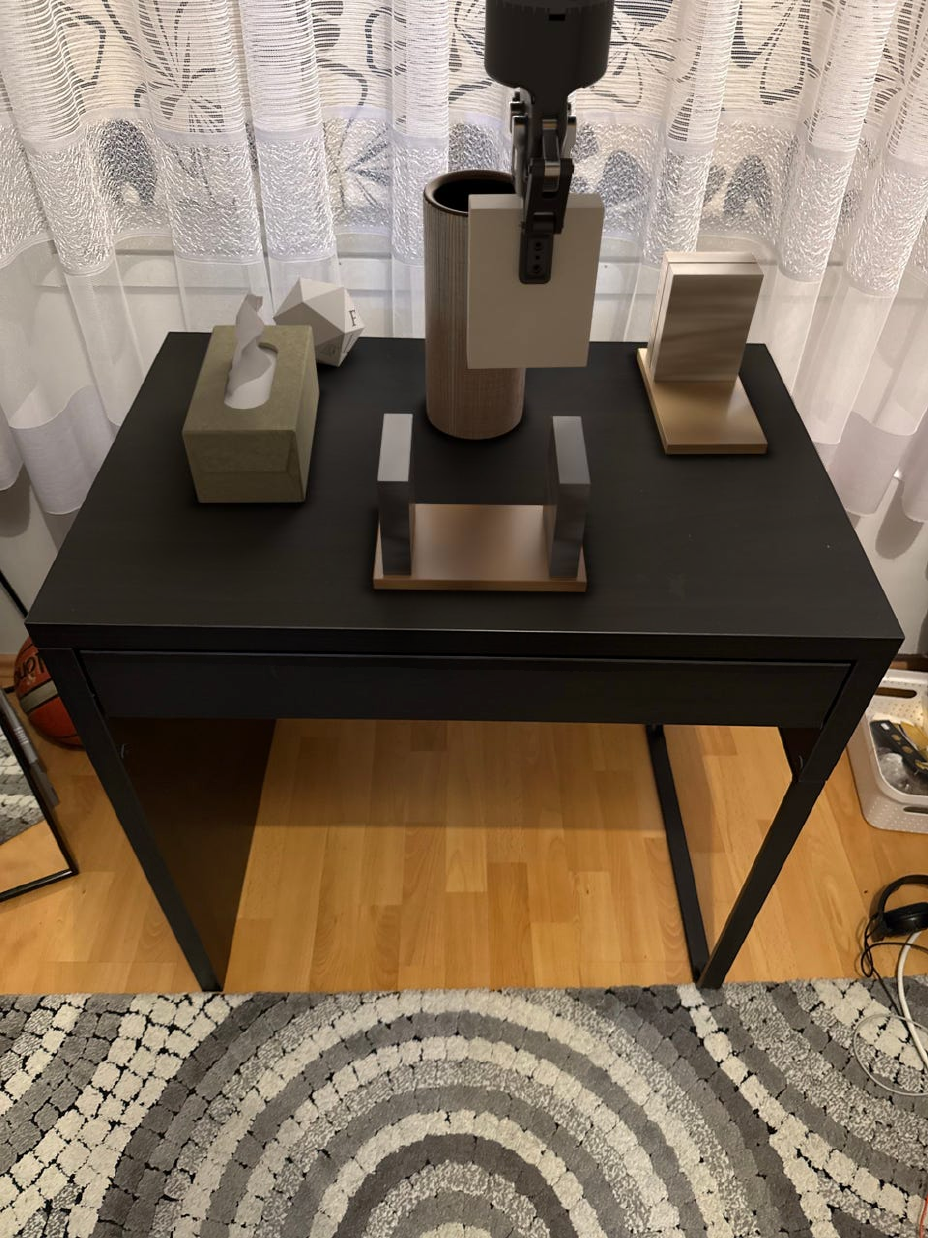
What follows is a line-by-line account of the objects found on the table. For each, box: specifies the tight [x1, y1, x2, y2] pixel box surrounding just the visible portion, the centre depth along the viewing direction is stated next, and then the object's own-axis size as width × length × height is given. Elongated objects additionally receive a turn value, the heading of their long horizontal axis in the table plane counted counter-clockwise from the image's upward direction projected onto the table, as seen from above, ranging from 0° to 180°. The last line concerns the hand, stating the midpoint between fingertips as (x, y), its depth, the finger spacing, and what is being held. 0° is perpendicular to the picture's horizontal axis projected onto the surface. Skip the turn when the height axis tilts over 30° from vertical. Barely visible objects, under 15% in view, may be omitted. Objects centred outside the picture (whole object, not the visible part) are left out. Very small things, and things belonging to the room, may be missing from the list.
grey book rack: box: [372, 413, 592, 593], centre depth 78 cm, size 18×10×11 cm, turn 90°
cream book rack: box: [636, 251, 769, 455], centre depth 94 cm, size 18×10×13 cm, turn 2°
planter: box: [422, 168, 527, 441], centre depth 89 cm, size 10×10×23 cm
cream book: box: [467, 192, 606, 369], centre depth 67 cm, size 2×9×12 cm, turn 93°
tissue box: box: [181, 291, 320, 504], centre depth 87 cm, size 19×10×16 cm, turn 2°
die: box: [272, 277, 366, 367], centre depth 101 cm, size 8×9×10 cm
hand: (532, 270), depth 66 cm, fingers closed on cream book, 2 cm apart
